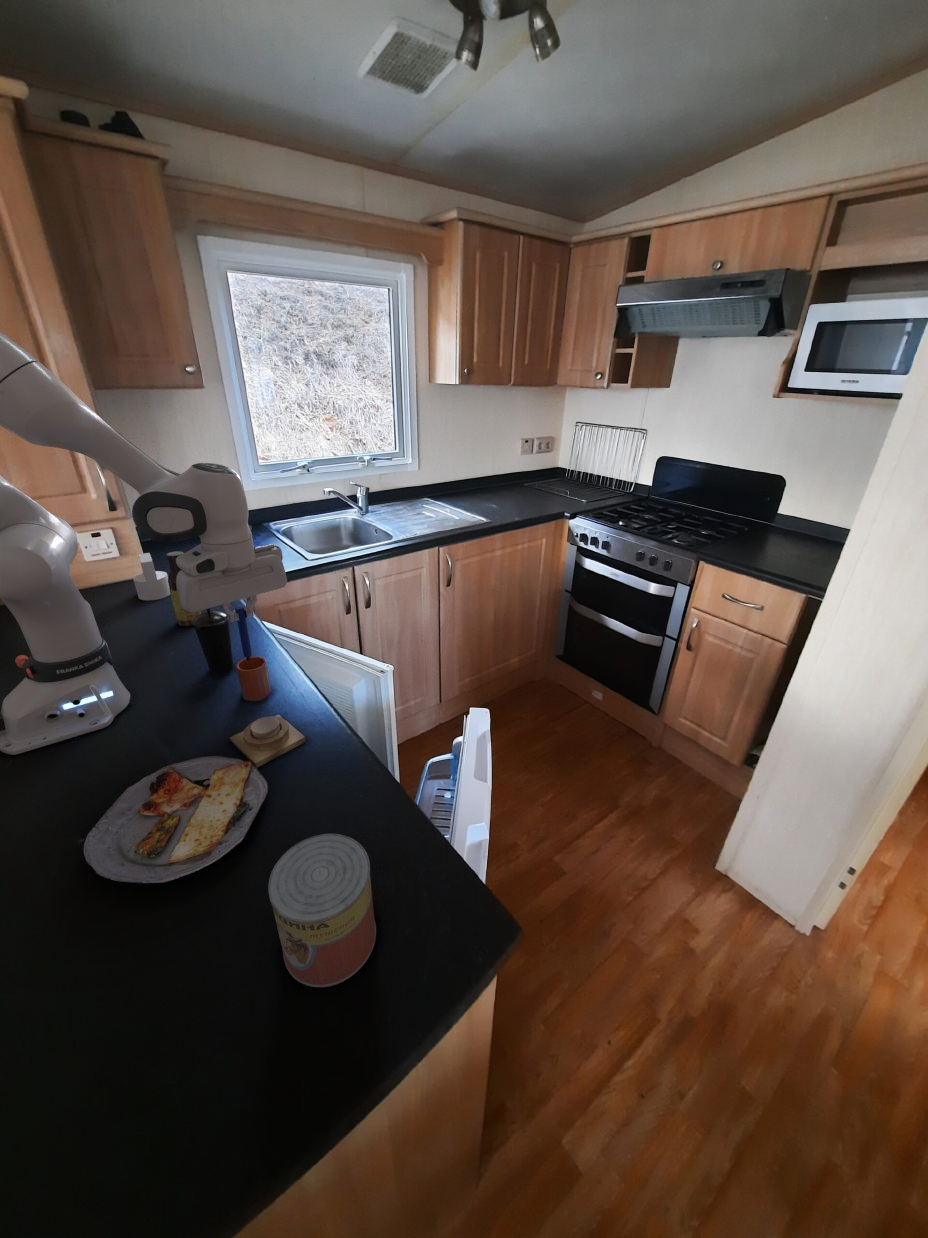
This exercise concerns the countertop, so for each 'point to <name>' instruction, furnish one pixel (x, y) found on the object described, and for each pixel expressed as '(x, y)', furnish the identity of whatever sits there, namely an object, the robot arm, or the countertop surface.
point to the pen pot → (254, 678)
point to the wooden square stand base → (267, 743)
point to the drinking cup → (215, 640)
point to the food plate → (176, 820)
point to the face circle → (265, 728)
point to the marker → (243, 632)
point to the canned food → (324, 909)
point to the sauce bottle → (181, 614)
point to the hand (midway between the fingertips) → (241, 618)
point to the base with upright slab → (151, 580)
